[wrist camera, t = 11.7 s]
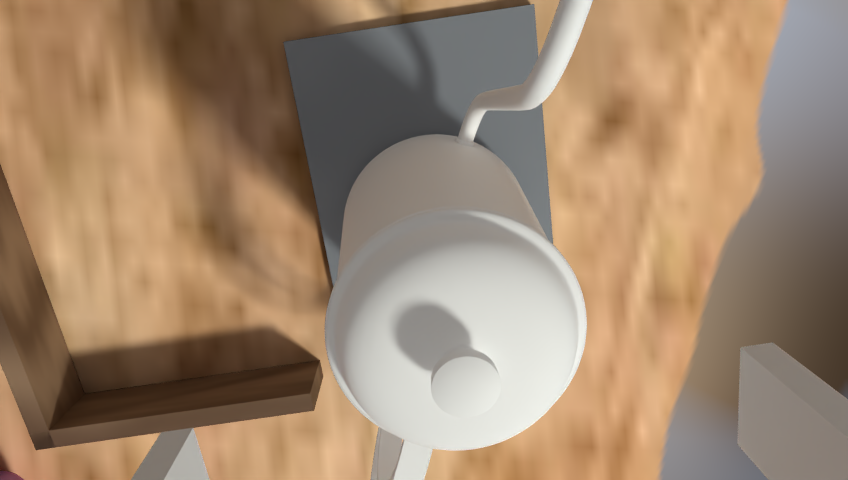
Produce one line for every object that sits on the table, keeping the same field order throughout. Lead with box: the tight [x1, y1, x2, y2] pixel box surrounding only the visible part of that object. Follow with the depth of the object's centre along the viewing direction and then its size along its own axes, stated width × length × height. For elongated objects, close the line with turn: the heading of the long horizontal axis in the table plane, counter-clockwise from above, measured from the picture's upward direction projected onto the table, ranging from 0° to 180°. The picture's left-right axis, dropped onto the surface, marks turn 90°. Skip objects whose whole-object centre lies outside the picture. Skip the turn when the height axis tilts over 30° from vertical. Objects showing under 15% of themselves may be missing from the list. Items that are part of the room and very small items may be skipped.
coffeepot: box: [325, 0, 593, 480], centre depth 26 cm, size 11×25×19 cm, turn 165°
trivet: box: [283, 4, 553, 287], centre depth 35 cm, size 22×14×1 cm, turn 8°
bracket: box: [0, 165, 323, 450], centre depth 32 cm, size 30×17×4 cm, turn 8°
